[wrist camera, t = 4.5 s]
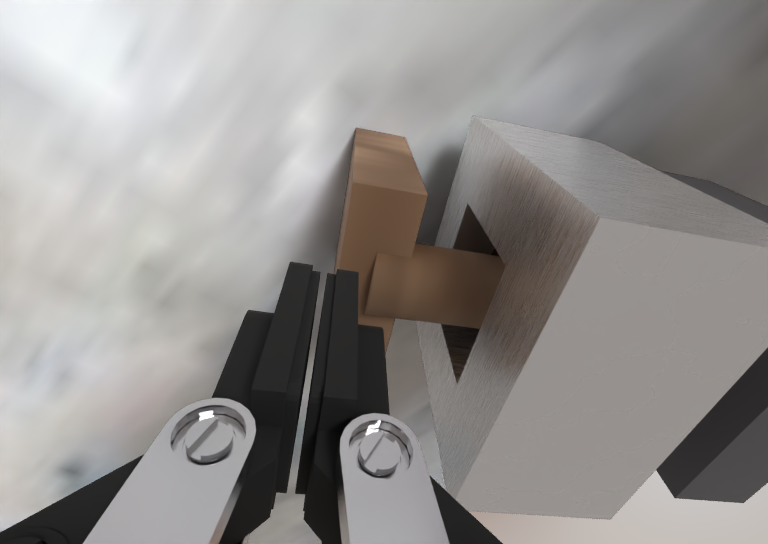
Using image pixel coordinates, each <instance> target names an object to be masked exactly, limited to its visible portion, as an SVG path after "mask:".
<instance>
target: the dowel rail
mask: <svg viewBox="0 0 768 544" xmlns="http://www.w3.org/2000/svg"><path fill="white" fill-rule="evenodd" d="M427 198H428V194H427V191H426V189H425V186H424V184H423V181H422V179H421V176H420V174H419V171H418V168H417V166H416V163H415V161H414V158H413V156H412V153H411V151H410V148H409V146H408V143H407V140H406V138H405V137H401V136H396V135H391V134H386V133H380V132H375V131H370V130H365V129H360V128H356V131H355V138H354V144H353V150H352V157H351V163H350V170H349V176H348V182H347V189H346V195H345V202H344V208H343V214H342V221H341V227H340V234H339V240H338V246H337V253H336V260H335V268H334V274H336V271H337V269H342V270H349V271H356V272H359V290H358V324H360V325H368V326H376V327H382V328H383V332H384V344H385V355H386V351H387V347H388V343H389V340H390V336H391V332H392V328H393V325H394V321H395V318H399V319H407V320H415V321H422V322H430V323H438V324H445V325H453V326H461V327H469V328H476V329H480V328H481V326H482V323H483V321H484V318H485V316H486V313H487V311H488V309H489V306H490V304H491V301H492V299H493V296H494V294H495V292H496V289H497V287H498V284H499V282H500V279H501V277H502V275H503V272H504V270H505V267H506V266H505V264H504V262H503V261H502V259H501V257H500V256H495V255H488V254H482V253H476V252H469V251H463V250H457V249H450V248H444V247H438V246H431V245H425V244H419V243H415V242H416V239H417V235H418V231H419V228H420V224H421V220H422V216H423V213H424V209H425V205H426V201H427Z"/></svg>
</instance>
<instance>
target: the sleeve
mask: <svg viewBox="0 0 768 544" xmlns="http://www.w3.org/2000/svg"><path fill="white" fill-rule="evenodd" d="M434 246H438V247H444V248H450V249H457V250H463V251H469V252H476V253H482V254H488V255H495V256H500V257H501V259H502V261H503V262H504V264H505V266H506V267H505V270H504V272H503V275H502V277H501V279H500V282H499V284H498V287H497V289H496V292H495V294H494V296H493V299H492V301H491V304H490V306H489V309H488V311H487V313H486V316H485V318H484V321H483V323H482V326H481V328H480V329H476V328H469V327H461V326H453V325H445V324H438V323H430V322H422V321H416V327H417V332H418V338H419V343H420V349H421V354H422V360H423V365H424V371H425V376H426V382H427V387H428V393H429V398H430V404H431V409H432V415H433V420H434V425H435V431H436V436H437V442H438V447H439V453H440V458H441V464H442V469H443V475H444V480H445V486H446V491H447V492H448V493H449V494H450V495H451V496H452V497H453V498H454V499H455V500H456V501H457V502H459V503H460V504H461V505H462V506H463V507H464V508H465V509H466V510H467V511H477V512H494V513H510V514H527V515H543V516H559V517H560V516H561V517H576V518H592V519H611V518H612V517H613V516H614V515H615V514H616V513H617V511H619V510H620V508H621V507H622V506H623V505H624V504H625V503H626V502H627V501H628V500H629V498H631V496H632V495H633V494H634V493H635V492H636V491H637V490H638V489H639V487H641V486H642V484H643V483H644V482H645V481H646V480H647V479H648V478H649V477H650V476H651V475H652V474H653V472H654V471H655V470H656V469H657V468H658V467H659V466H660V465H661V464H662V463H663V461H664V460H665V459H666V458H667V457H668V456H669V455H670V454H671V453H672V452H673V451H674V449H675V448H676V447H677V446H678V445H679V444H680V443H681V442H682V441H683V440H684V438H685V437H686V436H687V435H688V434H689V433H690V432H691V431H692V430H693V429H694V428H695V426H696V425H697V424H698V423H699V422H700V421H701V420H702V419H703V418H704V417H705V415H706V414H707V413H708V412H709V411H710V410H711V409H712V408H713V407H714V406H715V405H716V403H717V402H718V401H719V400H720V399H721V398H722V397H723V396H724V395H725V394H726V393H727V391H728V390H729V389H730V388H731V387H732V386H733V385H734V384H735V383H736V382H737V380H738V379H739V378H740V377H741V376H742V375H743V374H744V373H745V372H746V371H747V370H748V368H749V367H750V366H751V365H752V364H753V363H754V362H755V361H756V360H757V359H758V357H759V356H760V355H761V354H762V353H763V352H764V351H765V350H766V349H767V348H768V224H767V223H765V222H763V221H761V220H759V219H757V218H755V217H753V216H751V215H749V214H747V213H745V212H743V211H741V210H738V209H736V208H734V207H732V206H730V205H728V204H726V203H724V202H722V201H720V200H718V199H716V198H714V197H712V196H710V195H708V194H705V193H703V192H701V191H699V190H697V189H695V188H693V187H691V186H689V185H687V184H685V183H683V182H681V181H679V180H677V179H675V178H672V177H670V176H668V175H666V174H664V173H662V172H660V171H658V170H656V169H654V168H652V167H650V166H648V165H646V164H644V163H642V162H639V161H637V160H635V159H633V158H631V157H629V156H627V155H625V154H623V153H621V152H619V151H617V150H615V149H613V148H611V147H609V146H606V145H604V144H602V143H600V142H597V141H593V140H588V139H583V138H578V137H573V136H569V135H564V134H559V133H554V132H550V131H545V130H540V129H535V128H530V127H526V126H521V125H516V124H511V123H506V122H502V121H497V120H492V119H487V118H482V117H478V116H472V120H471V123H470V126H469V130H468V133H467V137H466V140H465V143H464V147H463V150H462V153H461V157H460V160H459V164H458V167H457V170H456V174H455V177H454V180H453V184H452V187H451V191H450V194H449V197H448V201H447V204H446V207H445V211H444V214H443V218H442V221H441V224H440V228H439V231H438V234H437V238H436V241H435V245H434Z"/></svg>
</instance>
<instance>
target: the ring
mask: <svg viewBox="0 0 768 544" xmlns="http://www.w3.org/2000/svg"><path fill="white" fill-rule="evenodd" d="M660 172H662V173H664V174H666V175H668V176H670V177H672V178H675V179H677V180H679V181H681V182H683V183H685V184H687V185H689V186H691V187H693V188H695V189H697V190H699V191H701V192H703V193H705V194H708V195H710V196H712V197H714V198H716V199H718V200H720V201H722V202H724V203H726V204H728V205H730V206H732V207H734V208H736V209H738V210H741V211H743V212H745V213H747V214H749V215H751V216H753V217H755V218H757V219H759V220H761V221H763V222H765V223H767V224H768V206H765V205H763V204H761V203H759V202H756V201H754V200H752V199H749V198H747V197H745V196H743V195H740V194H738V193H736V192H734V191H731V190H729V189H727V188H725V187H722V186H720V185H718V184H716V183H713V182H711V181H708V180H703V179H698V178H693V177H688V176H683V175H678V174H673V173H668V172H663V171H660ZM656 470H657V472H658V473H659V475H660V476H661V478H662V480H663V481H664V483H665V484H666V485H667V487H668V489H669V490H670V492H671V493H672V495H673V496H674V498H680V499H681V498H682V499H694V500H708V501H723V502H738V503H744V502H745V501H746V500H748V499H749V498H750V497H751V496H752V495H754V494H755V493H756V492H757V491H758V490H760V489H761V487H763V486H764V485H765V484H766V483H768V348H767V349H766V350H765V351H764V352H763V353H762V354H761V355H760V356H759V357H758V359H757V360H756V361H755V362H754V363H753V364H752V365H751V366H750V367H749V368H748V370H747V371H746V372H745V373H744V374H743V375H742V376H741V377H740V378H739V379H738V380H737V382H736V383H735V384H734V385H733V386H732V387H731V388H730V389H729V390H728V391H727V393H726V394H725V395H724V396H723V397H722V398H721V399H720V400H719V401H718V402H717V403H716V405H715V406H714V407H713V408H712V409H711V410H710V411H709V412H708V413H707V414H706V415H705V417H704V418H703V419H702V420H701V421H700V422H699V423H698V424H697V425H696V426H695V428H694V429H693V430H692V431H691V432H690V433H689V434H688V435H687V436H686V437H685V438H684V440H683V441H682V442H681V443H680V444H679V445H678V446H677V447H676V448H675V449H674V451H673V452H672V453H671V454H670V455H669V456H668V457H667V458H666V459H665V460H664V461H663V463H662V464H661V465H660V466H659V467H658V468H657V469H656Z"/></svg>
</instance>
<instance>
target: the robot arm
mask: <svg viewBox="0 0 768 544" xmlns="http://www.w3.org/2000/svg"><path fill="white" fill-rule="evenodd" d="M312 268H313V265H308V264H302V263H295V262H290V264H289V267H288V270H287V274H286V277H285V280H284V283H283V287H282V290H281V293H280V297H279V300H278V303H277V306H276V310H275V313H267V312H260V311H252V310H248V311H247V313H246V315H245V317H244V320H243V322H242V325H241V327H240V330H239V332H238V335H237V337H236V339H235V342H234V344H233V347H232V349H231V352H230V354H229V357H228V359H227V362H226V364H225V367H224V369H223V372H222V374H221V377H220V379H219V381H218V384H217V386H216V389H215V391H214V394H213V396H212V398H210V399H203V400H200V401H197V402H194V403H192V404H189V405H187V406H186V407H184V408H182V409H181V410H179V411H178V412H176V413H175V414H174V415H173V416H172V417H171V419H170V420H169V421H168V422H167V423H166V424H165V426H164V427H163V428H162V430H161V431H160V433H159V434H158V436H157V437H156V439H155V440H154V441H153V443H152V444H151V446H150V447H149V449H148V450H147V452H146V453H145V454H144V455H142V456H140V457H138V458H137V459H135V460H133V461H131V462H129V463H127V464H126V465H124V466H122V467H120V468H118V469H116V470H115V471H113V472H111V473H109V474H107V475H105V476H103V477H102V478H100V479H98V480H96V481H94V482H92V483H91V484H89V485H87V486H85V487H83V488H81V489H80V490H78V491H76V492H74V493H72V494H70V495H69V496H67V497H65V498H63V499H61V500H59V501H57V502H56V503H54V504H52V505H50V506H48V507H46V508H45V509H43V510H41V511H39V512H37V513H35V514H34V515H32V516H30V517H28V518H26V519H24V520H23V521H21V522H19V523H17V524H15V525H13V526H11V527H10V528H8V529H6V530H4V531H2V532H0V544H247V543H248V539H249V534H250V533H251V532H252V531H253V530H255V529H256V528H257V527H258V526H260V525H261V524H262V523H263V522H264V521H266V520H267V519H268V518H269V517H270V513H271V509H273V507H274V502H275V496H276V492H279V493H286V492H287V487H288V481H289V474H290V468H291V462H292V456H293V450H294V444H295V437H296V431H297V425H298V419H299V413H300V407H301V400H302V394H303V388H304V382H305V376H306V370H307V363H308V357H309V350H310V343H311V336H312V329H313V322H314V315H315V308H316V301H317V294H318V287H319V279H320V272H316V271H312ZM358 290H359V272H356V271H349V270H342V269H337V271H336V274H330V273H328V274H327V280H326V286H325V293H324V300H323V306H322V313H321V319H320V326H319V332H318V339H317V345H316V352H315V359H314V365H313V372H312V379H311V386H310V393H309V400H308V407H307V414H306V421H305V428H304V435H303V442H302V449H301V456H300V463H299V470H298V477H297V484H296V491H295V494H305V501H304V509H303V511H305V513H304V520H305V521H306V523H307V524H308V525H309V526H310V528H311V529H312V530H313V531H314V533H315V534H316V535H317V536H318V544H503V543H501V542H500V541H499V540H498V539H497V538H496V537H495V536H494V535H493V534H492V533H491V532H489V530H487V529H486V528H485V527H484V526H483V525H482V524H481V523H480V522H479V521H478V520H477V519H476V518H475V517H474V516H472V515H471V514H470V513H469V512H468V511H467V510H466V509H465V508H464V507H463V506H462V505H461V504H460V503H459V502H457V501H456V500H455V499H454V498H453V497H452V496H451V495H450V494H449V493H448V492H447V491H446V490H445V489H443V488H442V487H441V486H440V485H439V484H438V483H437V482H436V481H435V480H434V479H433V478H432V477H431V476H430V475H429V473H428V470H427V466H426V463H425V460H424V456H423V453H422V449H421V446H420V444H419V442H418V439H417V437H416V435H415V434H414V433H413V432H412V430H411V429H410V428H409V427H408V426H407V425H406V424H404V423H403V422H402V421H400V420H399V419H397V418H394V417H392V416H390V415H389V401H388V387H387V373H386V358H385V344H384V332H383V328H382V327H376V326H368V325H360V324H358Z"/></svg>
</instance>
